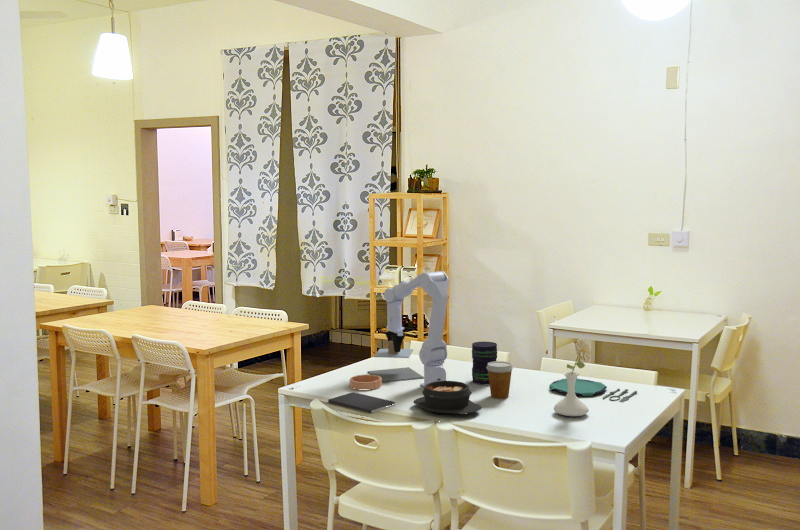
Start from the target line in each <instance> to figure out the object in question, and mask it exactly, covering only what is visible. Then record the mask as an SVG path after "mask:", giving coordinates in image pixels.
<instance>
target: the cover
mask: <svg viewBox="0 0 800 530" xmlns="http://www.w3.org/2000/svg"><path fill="white" fill-rule="evenodd" d="M387 345H388V347H387V348H379V349H377V351H376V353H375V354H374V355H373V358H386V359H387V358H390V359H391V358H392V359H393V358H395V359H396V358H397V359H399V358H400V359H409V358H410V357H411V355H412V353H413V352H414V349H413V348H401V350H400V352H395V351H394V345H393V341H389V342H388V341H387Z"/></svg>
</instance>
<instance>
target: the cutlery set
mask: <svg viewBox="0 0 800 530" xmlns="http://www.w3.org/2000/svg"><path fill="white" fill-rule="evenodd" d="M607 387H608V386H607V385H605V384H604V383H602V382H600V381H593V380H589V379H583V378H578V377H577V378H576V382H575V395H576V396H577V395H578V396H580V395H581V396H583V397H592V396H594V395H597V394H600V393H603V392H604V391H605V390H607ZM548 388H549V390H550V391H551V392H552V390H555V391H557V392H559V393H563V394H567V393H568V383H567V379H566V378H561V379H557V380H555V381H554V380H553V382H551V383H550V384H549V386H548ZM620 390H621V389H620V388H617V389H616V390H614V391H610V392H609V393H608V394H606V395H604V396H603V397H602V400H604V399H607V398H609V400H611V401H613V398H614V399H615V401H618V402H619V403H624V402H627V401H629V400H630V398H632V397H633V396H635V395H637V394H638V390H634V391H633V392H632V393H631V394H629V395H625V396H623V397H622V398H621V396H622V395H623V394H625V393H627V392H628V391H629V389H626V388H625V389H623V391H622V392H620ZM617 391H619V392H620V393H618V395H614V394H615V393H616V392H617ZM616 398H617V399H616ZM620 398H621V399H620Z"/></svg>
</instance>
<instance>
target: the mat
mask: <svg viewBox="0 0 800 530" xmlns="http://www.w3.org/2000/svg"><path fill="white" fill-rule="evenodd" d="M367 373H368V375H376V376H380V377H381V378H382V383H388V382H387V381H392V382H400V381H399V380H402V381H411V380H410V379H412V380H420V379H421V378H422V379H424V376H423V375H422V374H420V373H418V372H417V371H416V370H414V369H412V368H410V367H409V366H407V367H399V368H387V369H376V370H368V371H367Z"/></svg>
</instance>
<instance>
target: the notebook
mask: <svg viewBox="0 0 800 530" xmlns="http://www.w3.org/2000/svg"><path fill="white" fill-rule="evenodd" d="M327 403H330V404H334V405H338V406H341V407H345V408H350V409H353V410H357V411H361V412H363V413H365V412H366V413H369V414H373V413H376V412H379V411H381V410H385V409H386V408H385V407H386V406H390V405H392V404H395V403H396V401H392V400H388V399H385V398H380V397H377V396H372V395H368V394H367V395H366V394H365V393H364V394H363V393H359V392H353V391H352V392H348V393H345V394H343V395H339V396H336V397H331V398H328V399H327ZM384 408H385V409H384Z"/></svg>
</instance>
